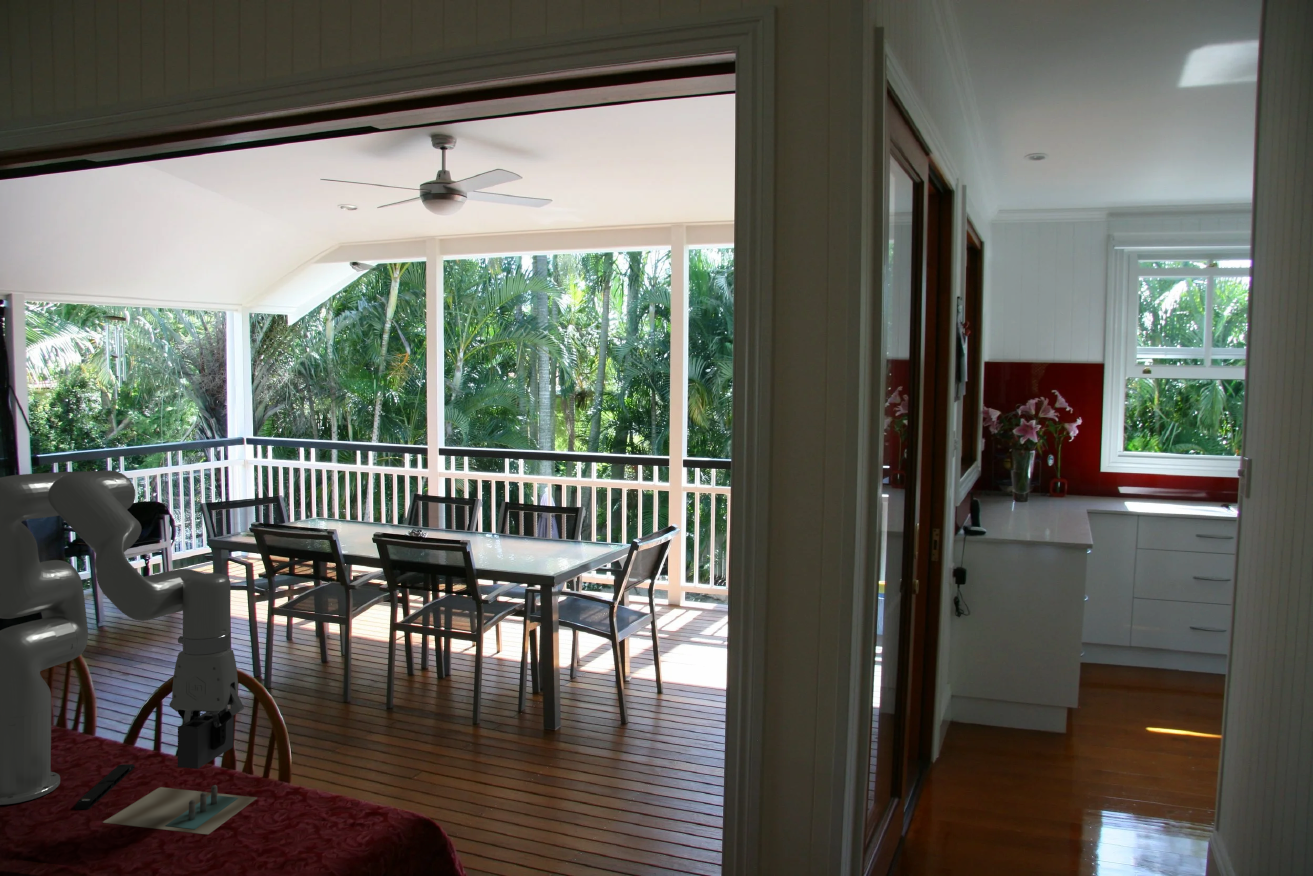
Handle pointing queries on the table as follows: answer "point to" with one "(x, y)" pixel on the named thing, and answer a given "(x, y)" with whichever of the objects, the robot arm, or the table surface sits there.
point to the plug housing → (200, 741)
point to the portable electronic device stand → (103, 786)
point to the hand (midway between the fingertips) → (206, 744)
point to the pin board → (182, 810)
